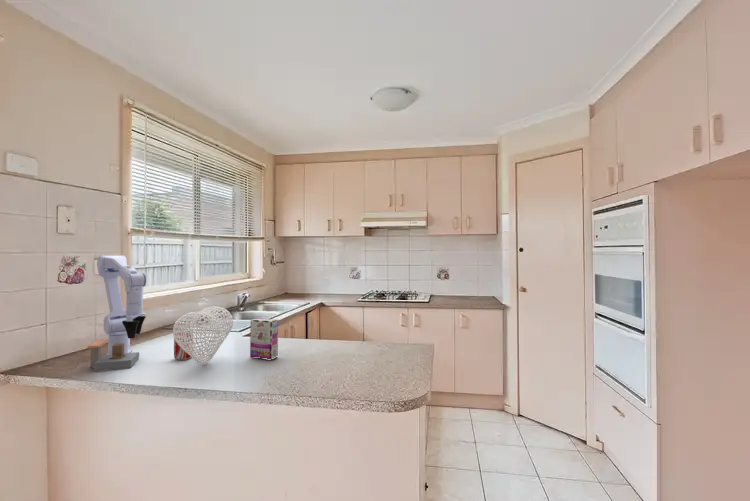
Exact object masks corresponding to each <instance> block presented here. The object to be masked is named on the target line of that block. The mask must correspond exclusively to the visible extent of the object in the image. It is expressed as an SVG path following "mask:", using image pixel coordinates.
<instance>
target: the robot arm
mask: <svg viewBox="0 0 750 501" xmlns="http://www.w3.org/2000/svg"><path fill="white" fill-rule="evenodd" d="M127 263H128V261H127V256H125V255H103V254H101V255H99V256H98V257H97V261H96V268H97V273H98V275H99V276H100V277H101V278H103V280H104V282H103V283H104V286H105V292H106V297H107V302H108V310H109V313H108V314H106V316H105V317H104V318H103V332H104V333H105V334H106V335H108V342H107V343H108V344H107V345H108V347H107V348H108V349H107V350H108V353H107V354H112V346H113V345H114V344H122V343H124V353H132V351H133V349H132V348H131V339H135V338H136V335H140V334H141V332H142V328H143V324H144V321H145V319H146V318H147V316H146V315H147V312H144V287H145V286H146V284H147V275H146V274H145V272H138V271H137V269H135V268H134V267H133V266H132V265H130V264H129V265H128V264H127ZM119 277H120V278H121V279H122V280H123V283H124V291H125V292H126V298H125V300H126V302H125V303H126V306H125V308H126V310H125V309H124V306H123V300H122V296H121V295H122V294H121V290H120V289H121V288H120V284H119V280H118V278H119Z"/></svg>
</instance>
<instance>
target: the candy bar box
mask: <svg viewBox="0 0 750 501" xmlns="http://www.w3.org/2000/svg"><path fill="white" fill-rule="evenodd" d="M278 334H279V320H278V319H271V318H258V317H257V318H254V319H253V318H252V319H250V335H249V336H250V338H249V339H250V341H249V342H250V343H249V344H250V346H249V347H250V350H249V351H250V352H249V356H250V357H260V358H267V359H272V358H274V357H276V356H278V353H279V352H278V349H279V348H278V347H279V345H278V344H279V335H278Z"/></svg>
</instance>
